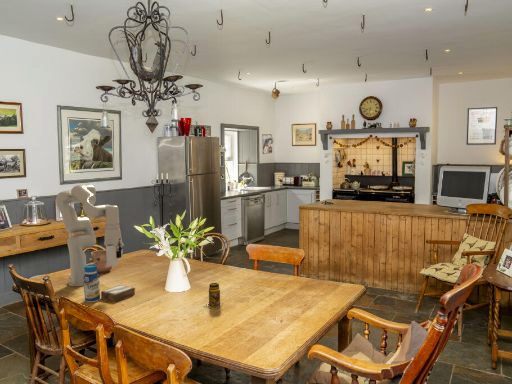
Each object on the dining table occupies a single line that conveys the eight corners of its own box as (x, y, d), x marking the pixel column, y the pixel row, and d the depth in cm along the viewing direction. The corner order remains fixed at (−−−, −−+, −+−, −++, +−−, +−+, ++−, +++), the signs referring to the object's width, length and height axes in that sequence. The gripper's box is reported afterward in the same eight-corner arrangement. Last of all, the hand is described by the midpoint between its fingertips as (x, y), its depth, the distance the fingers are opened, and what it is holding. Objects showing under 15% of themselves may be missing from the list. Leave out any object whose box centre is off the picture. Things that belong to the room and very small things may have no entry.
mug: (109, 267, 245) (108, 246, 243) (104, 264, 249) (103, 244, 248) (126, 263, 252) (125, 243, 250) (120, 261, 256) (120, 242, 255)
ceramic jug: (96, 276, 289) (95, 255, 287) (84, 272, 297) (83, 252, 296) (119, 270, 303) (118, 250, 302) (107, 267, 312) (106, 247, 310)
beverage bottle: (96, 296, 248) (94, 262, 246) (102, 300, 242) (101, 265, 240) (82, 300, 242) (80, 265, 240) (88, 304, 236) (86, 268, 234)
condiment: (217, 308, 227) (217, 286, 226) (203, 306, 230) (202, 285, 229) (223, 303, 234) (222, 282, 233) (208, 302, 237) (208, 281, 236)
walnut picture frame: (101, 298, 245) (101, 291, 245) (120, 291, 257) (120, 284, 257) (116, 301, 239) (115, 294, 238) (134, 294, 251) (134, 287, 250)
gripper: (97, 227, 250) (99, 257, 251) (118, 228, 241) (120, 259, 243) (107, 225, 256) (109, 254, 258) (128, 226, 248) (130, 256, 249)
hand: (114, 256), depth 250 cm, fingers closed on mug, 6 cm apart
